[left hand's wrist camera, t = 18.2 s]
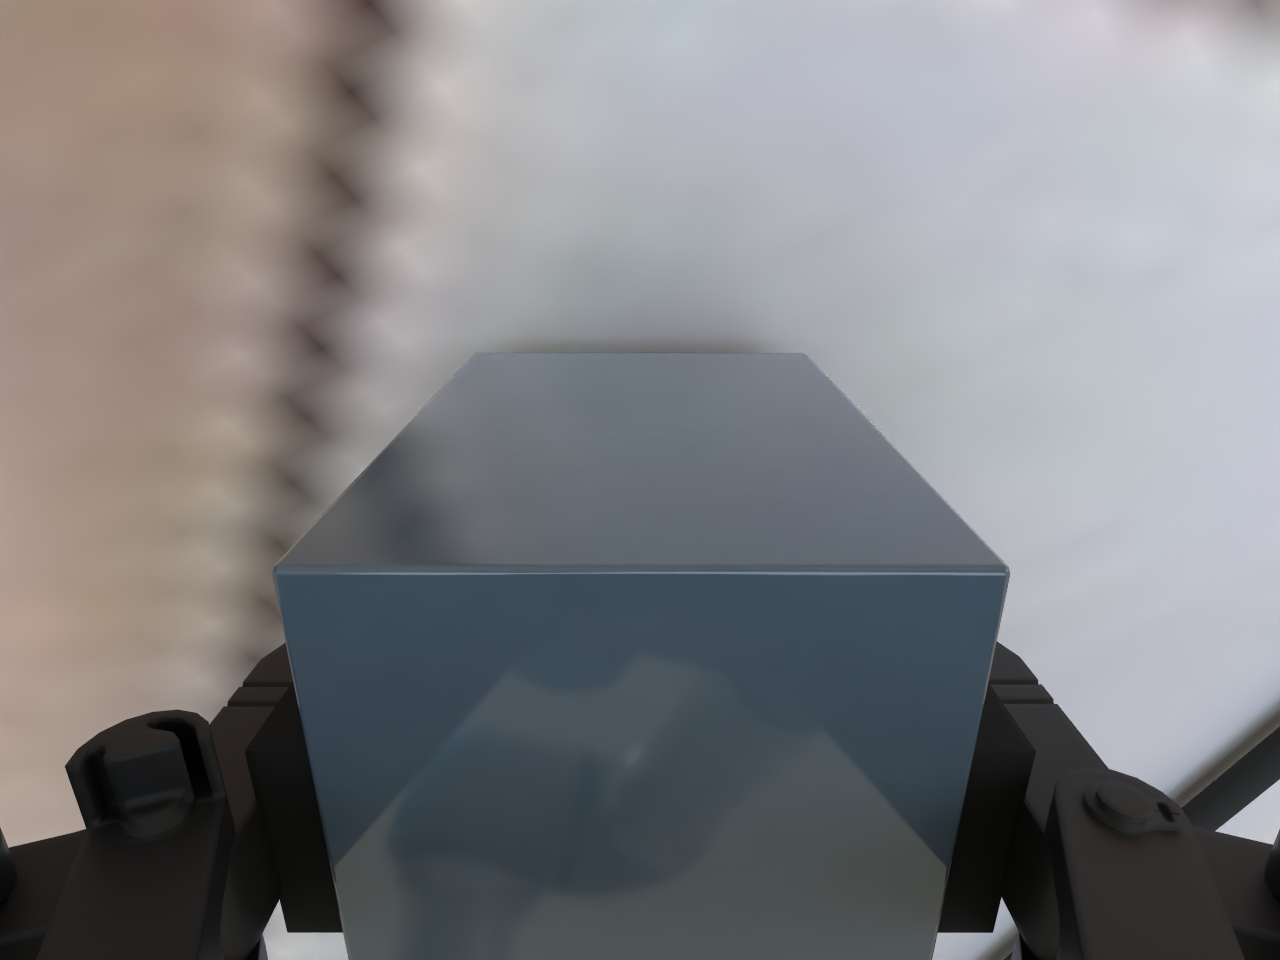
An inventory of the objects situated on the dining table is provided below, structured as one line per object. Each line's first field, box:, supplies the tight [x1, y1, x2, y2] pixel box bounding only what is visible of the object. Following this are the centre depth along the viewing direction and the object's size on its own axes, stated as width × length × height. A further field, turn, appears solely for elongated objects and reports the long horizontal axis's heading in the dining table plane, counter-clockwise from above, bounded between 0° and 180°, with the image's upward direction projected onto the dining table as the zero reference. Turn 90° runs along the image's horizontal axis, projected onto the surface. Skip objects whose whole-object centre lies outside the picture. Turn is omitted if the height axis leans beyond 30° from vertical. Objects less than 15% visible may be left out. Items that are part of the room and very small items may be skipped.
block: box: [272, 353, 1010, 960], centre depth 13 cm, size 7×7×10 cm
